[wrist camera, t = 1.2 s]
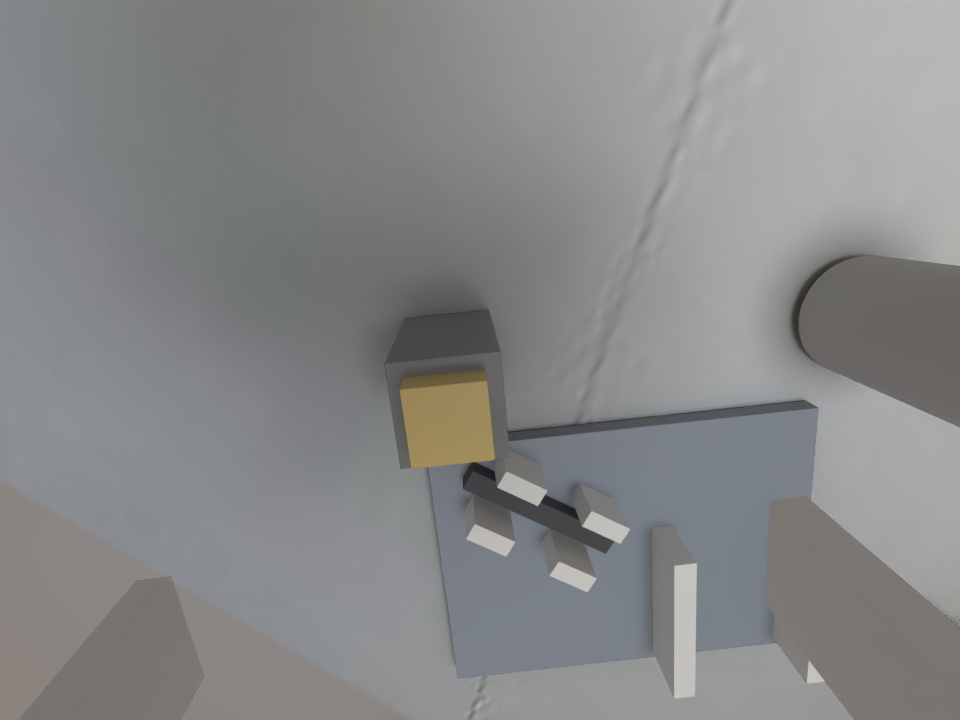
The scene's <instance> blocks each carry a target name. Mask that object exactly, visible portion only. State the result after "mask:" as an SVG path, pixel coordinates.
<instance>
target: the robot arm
mask: <svg viewBox="0 0 960 720" xmlns="http://www.w3.org/2000/svg"><path fill="white" fill-rule="evenodd" d="M766 605H767V606H768V607H769V609H770V610H771V611H772V613H773V614H774V615H775V617H776V618H777V619H778V620H779V622H780V623H781V624H782V626H783V627H784V628H785V630H786V631H787V632H788V634H789V635H790V636H791V638H792V639H793V640H794V641H795V643H796V644H797V645H798V647H799V648H800V649H801V651H802V652H803V653H804V655H805V656H806V657H807V659H808V660H809V661H810V662H811V664H812V665H813V666H814V668H815V669H816V670H817V672H818V673H819V674H820V676H821V677H822V678H823V680H824V681H825V682H826V683H827V685H828V686H829V687H830V689H831V690H832V691H833V693H834V694H835V695H836V697H837V698H838V699H839V701H840V702H841V703H842V704H843V706H844V707H845V708H846V710H847V711H848V712H849V714H850V715H851V716H852V718H853V719H854V720H960V627H958V626H957V625H956V624H955V623H954V622H953V621H951V620H950V619H949V618H948V617H947V616H946V615H944V614H943V613H942V612H941V611H940V610H939V609H937V608H936V607H935V606H934V605H933V604H931V603H930V602H929V601H928V600H927V599H926V598H924V597H923V596H922V595H921V594H920V593H919V592H917V591H916V590H915V589H914V588H913V587H912V586H910V585H909V584H908V583H907V582H906V581H904V580H903V579H902V578H901V577H900V576H899V575H897V574H896V573H895V572H894V571H893V570H892V569H890V568H889V567H888V566H887V565H886V564H885V563H883V562H882V561H881V560H880V559H879V558H878V557H876V556H875V555H874V554H873V553H872V552H870V551H869V550H868V549H867V548H866V547H865V546H863V545H862V544H861V543H860V542H859V541H858V540H856V539H855V538H854V537H853V536H852V535H851V534H849V533H848V532H847V531H846V530H845V529H843V528H842V527H841V526H840V525H839V524H838V523H836V522H835V521H834V520H833V519H832V518H831V517H829V516H828V515H827V514H826V513H825V512H824V511H822V510H821V509H820V508H819V507H818V506H817V505H815V504H814V503H813V502H812V501H811V500H809V499H808V498H807V497H806V496H801V497H793V498H785V499H777V500H770V524H769V550H768V576H767V602H766ZM204 676H205V675H204V672H203V669H202V666H201V663H200V660H199V657H198V655H197V651H196V648H195V645H194V642H193V639H192V637H191V633H190V631H189V628H188V625H187V622H186V619H185V616H184V613H183V610H182V607H181V604H180V601H179V598H178V595H177V592H176V589H175V586H174V583H173V580H172V577H171V576H168V577H160V578H152V579H144V580H137V581H135V583H134V584H133V585H132V586H131V587H130V588H129V590H128V591H127V592H126V593H125V594H124V596H123V597H122V598H121V599H120V600H119V602H118V603H117V604H116V605H115V606H114V607H113V609H112V610H111V611H110V612H109V613H108V614H107V616H106V617H105V618H104V619H103V620H102V621H101V623H100V624H99V625H98V626H97V627H96V628H95V630H94V631H93V632H92V633H91V634H90V636H89V637H88V638H87V639H86V640H85V641H84V643H83V644H82V645H81V646H80V647H79V648H78V650H77V651H76V652H75V653H74V654H73V656H72V657H71V658H70V659H69V660H68V661H67V663H66V664H65V665H64V666H63V668H62V669H61V670H60V671H59V672H58V673H57V674H56V676H55V677H54V678H53V679H52V680H51V682H50V683H49V684H48V685H47V686H46V687H45V689H44V690H43V691H42V692H41V693H40V695H39V696H38V697H37V698H36V699H35V700H34V702H33V703H32V704H31V705H30V706H29V708H28V709H27V710H26V711H25V712H24V714H23V715H22V716H21V717H20V718H19V719H18V720H181V719H182V717H183V716H184V714H185V712H186V710H187V708H188V706H189V704H190V702H191V700H192V699H193V697H194V695H195V693H196V691H197V689H198V687H199V686H200V684H201V682H202V680H203V678H204Z"/></svg>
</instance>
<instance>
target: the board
mask: <svg viewBox="0 0 960 720" xmlns="http://www.w3.org/2000/svg"><path fill="white" fill-rule="evenodd" d="M817 419H818V407H816V406H814V405H812V404H811V403H809V402H807V401H805V400H804V401H795V402H786V403H777V404H767V405H758V406H749V407H740V408H730V409H721V410H712V411H703V412H693V413H684V414H675V415H666V416H656V417H647V418H638V419H629V420H619V421H610V422H601V423H592V424H582V425H573V426H564V427H555V428H545V429H536V430H527V431H518V432H508V441H509V451H510V457H506V458H496V459H495V460H490V461H481V462H476V463H478V464H480V465H482V466H484V467H486V468H489V469H491V470H493V471H495V477H496V484H497V488H499V489H502V490H504V491H506V492H508V493H510V494H512V495H515V496H517V497H519V498H521V499H523V500H525V501H528V502H530V503H532V504H534V505H536V506H538V505H539V504H540V502H541V501H542V499H543V497H544V496H545V495H547V496H549V497H551V498H553V499H555V500H557V501H560V502H562V503H564V504H566V505H568V506H570V507H573V508H575V510H576V512H577V515H578V518H579V520H580V523H581V525H582V527H585V528H587V529H589V530H591V531H593V532H596V533H598V534H600V535H602V536H604V537H606V538H609V539H611V540H613V541H614V543H613V544H612V546H611V547H610V549H609V550H608V552H607V553H606V554H605V553H603V552H600V551H598V550H596V549H594V548H592V547H589V546H587V545H585V544H583V543H581V542H578V541H576V540H574V539H572V538H570V537H567V536H565V535H563V534H561V533H559V532H556V531H554V530H552V529H550V528H548V527H545V526H543V525H541V524H539V523H537V522H534V521H532V520H530V519H528V518H526V517H523V516H521V515H519V514H517V513H514V512H512V511H510V510H508V509H506V508H503V507H501V506H499V505H497V504H495V503H492V502H490V501H488V500H486V499H484V498H481V497H479V496H477V495H475V494H473V493H470V492H468V491H466V490H464V489H463V477H464V475H465V473H466V471H467V470H468V468H469V466H470V465H471V463H472V462H471V463H462V464H453V465H444V466H434V467H428V470H429V477H430V485H431V492H432V499H433V506H434V513H435V520H436V527H437V535H438V542H439V549H440V556H441V563H442V570H443V577H444V585H445V592H446V599H447V606H448V613H449V620H450V627H451V635H452V642H453V649H454V656H455V663H456V670H457V677H458V679H460V678H469V677H478V676H486V675H495V674H504V673H513V672H522V671H531V670H540V669H549V668H558V667H566V666H575V665H584V664H593V663H602V662H611V661H620V660H629V659H637V658H646V657H655V654H654V651H653V602H652V528H653V527H662V526H671V525H672V526H673V528H674V529H675V531H676V532H677V534H678V536H679V537H680V539H681V540H682V542H683V543H684V545H685V546H686V548H687V549H688V551H689V552H690V554H691V555H692V557H693V558H694V560H695V561H696V563H697V590H696V652H700V651H709V650H717V649H726V648H735V647H744V646H753V645H762V644H771V643H777V642H776V641H775V639H774V638H773V626H774V614H773V613H772V611H771V610H770V609H769V607H768V606H767V605H766V602H767V576H768V550H769V524H770V500H777V499H785V498H793V497H801V496H806V497H807V498H808V499H809V500H811V492H812V480H813V468H814V455H815V443H816V431H817Z"/></svg>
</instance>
